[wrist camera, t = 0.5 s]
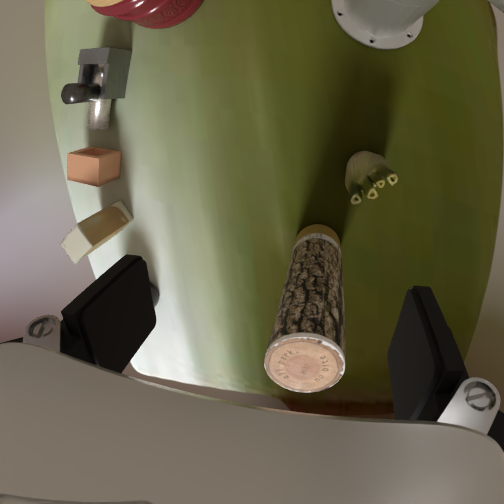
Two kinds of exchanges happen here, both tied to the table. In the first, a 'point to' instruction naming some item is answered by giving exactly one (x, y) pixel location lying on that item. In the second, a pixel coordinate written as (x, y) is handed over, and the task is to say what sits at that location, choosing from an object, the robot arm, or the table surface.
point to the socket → (93, 166)
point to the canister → (148, 11)
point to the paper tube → (310, 316)
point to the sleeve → (106, 69)
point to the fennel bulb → (367, 175)
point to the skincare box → (95, 231)
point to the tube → (90, 99)
